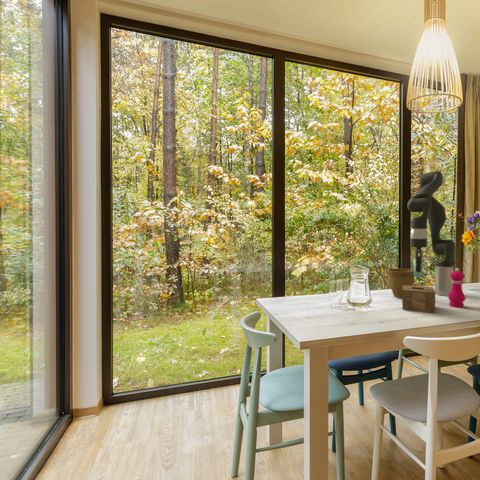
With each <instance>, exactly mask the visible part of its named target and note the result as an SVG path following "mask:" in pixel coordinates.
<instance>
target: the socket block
mask: <svg viewBox="0 0 480 480" xmlns="http://www.w3.org/2000/svg"><path fill="white" fill-rule="evenodd" d="M401 299H402V301H401V302H402V304H401V305H402V307H401V308H402V310H404V311H413V312H423V313H432V314H435V313H436V294H435V287H433V286H424V285H423V286H422V285H421V286H420V285H412V286H410V285H403V298H401Z"/></svg>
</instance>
